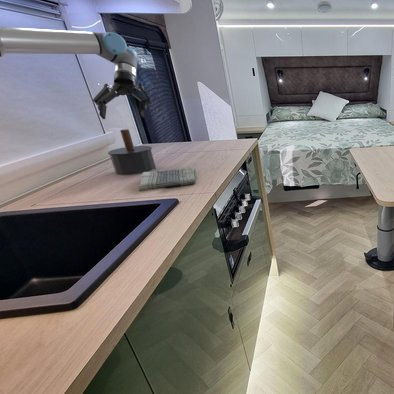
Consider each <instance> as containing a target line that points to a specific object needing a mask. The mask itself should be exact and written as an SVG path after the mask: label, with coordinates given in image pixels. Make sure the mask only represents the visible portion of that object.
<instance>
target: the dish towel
mask: <svg viewBox="0 0 394 394" xmlns="http://www.w3.org/2000/svg"><path fill="white" fill-rule="evenodd" d="M196 183H197V168H194V167H187V168H186V167H185V168H178V169H177V168H176V169H167V170H166V169H165V170H155V171H148V172H143V173H141V177H140V181H139V185H138V187H137V188H138V191H139V192H144V191H151V190H158V189H166V188H173V187H174V188H175V187H181V186H188V185H193V184H196Z"/></svg>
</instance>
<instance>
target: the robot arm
mask: <svg viewBox="0 0 394 394" xmlns="http://www.w3.org/2000/svg"><path fill="white" fill-rule="evenodd" d="M5 54H25V55H26V54H29V55H30V54H31V55H32V54H36V55H37V54H41V55H54V54H55V55H97V56H98V57H100V58H102V59H105V60H106V61H108V62H110V63H112V64H114V65H115V66H114V75H113V84H112V85H110V84H108V83H104V84H103V87H102V88H101V90H100V91H99V92H98V93H97V94H96V95H95V96H94V97H93V98H92V101H93V103H95V105H96V106H97V110H98V111H99V116H100V118H101V119H102V120H106V116H107V108H108V106H107V105H108V103H110V102H111V101H113V100H114V99H115V98H118V97H120V96H130V95H132V96H133V97H134V98H136V100H138V101H139V102H138V115H139V116H140V118H141V119H143V118H145V117H144V116H145V111H147V108H148V105H151V104H153V101H152V100H151V98H150V96H149V95H148V93H146V91H145V87H144V86H143V84H142V83H141V82H140V83H138V84H137V72H138V62H139V59H138V54H137V52H136V50H135V49H134V48H132V47H131V46H127V42H126V40H125V38H124V37H123V36H121V35H120V34H118V33H116V32H111V31H107V32H94V31H92V30H90V29H86V30H84V31H77V30H62V29H46V28H45V29H44V28H27V27H11V26H10V27H9V26H0V58H2V57H4V55H5ZM137 90H138V91H140V92H141V94H142V95H143V97H142V96H141V95H140V94H139V93H137V92H136V91H137Z"/></svg>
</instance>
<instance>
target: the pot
mask: <svg viewBox="0 0 394 394" xmlns="http://www.w3.org/2000/svg"><path fill="white" fill-rule="evenodd" d="M153 155H154V154H153V151H152V149H151V150H150V151H147V152H143V153H138V154H131V155H118V156H117V155H109V157H110V159H111V163H112V165H113V169H114V172H115V174H116V175H118V176H119V175H120V176H131V175H138V174H142V173H143V172H152V171H153V170H155V171H156V169H157V168H156V163H155V159H154V156H153Z"/></svg>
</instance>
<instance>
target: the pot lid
mask: <svg viewBox="0 0 394 394" xmlns="http://www.w3.org/2000/svg"><path fill="white" fill-rule="evenodd" d="M119 131H120V135H121V138H122V142H123V145H124V147H119V148H115V149H111V150H109V151H107V155H109V156H110V155H117V156H118V155H131V154H138V153H143V152H147V151H150V150H151V151H152V149H153V147H152V146H150V145H134V142H133V138H132V136H131V132H130V129H129V128H126V129H123V128H122V129H120V130H119Z"/></svg>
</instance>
